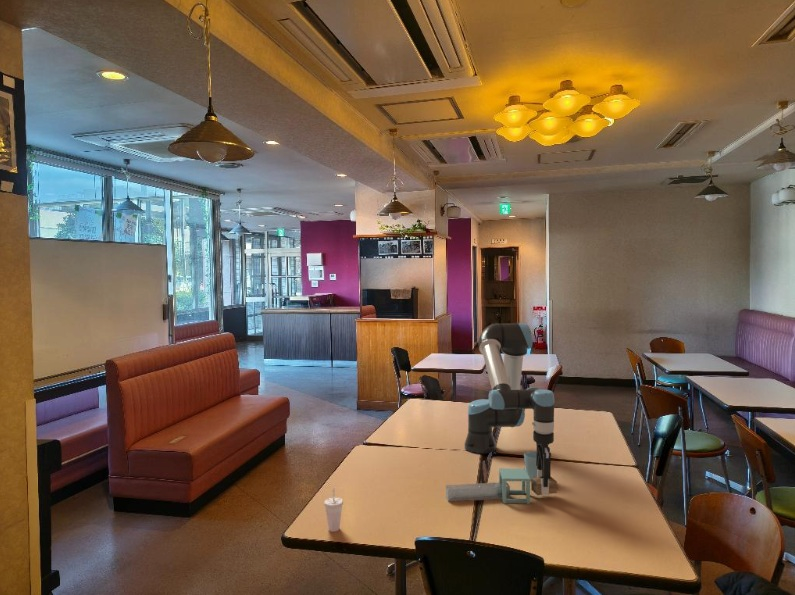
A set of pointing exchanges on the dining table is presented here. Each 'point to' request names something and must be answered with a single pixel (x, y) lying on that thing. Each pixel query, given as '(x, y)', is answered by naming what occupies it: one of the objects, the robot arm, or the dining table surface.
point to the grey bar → (476, 491)
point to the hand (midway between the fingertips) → (542, 490)
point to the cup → (530, 464)
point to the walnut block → (537, 485)
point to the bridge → (514, 475)
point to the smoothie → (333, 512)
